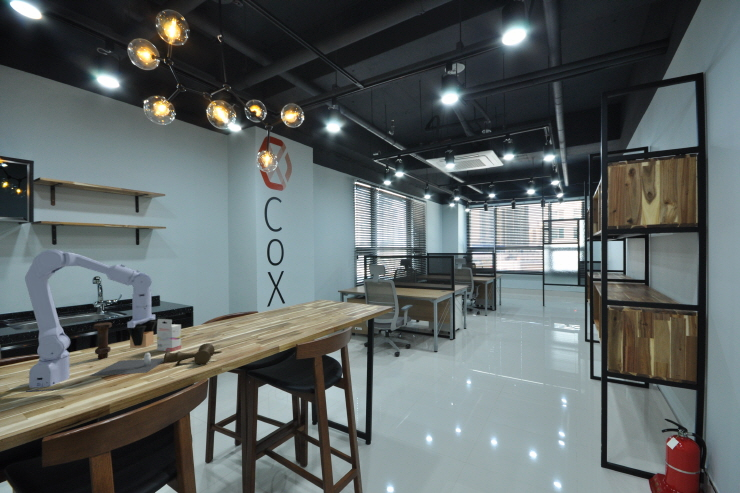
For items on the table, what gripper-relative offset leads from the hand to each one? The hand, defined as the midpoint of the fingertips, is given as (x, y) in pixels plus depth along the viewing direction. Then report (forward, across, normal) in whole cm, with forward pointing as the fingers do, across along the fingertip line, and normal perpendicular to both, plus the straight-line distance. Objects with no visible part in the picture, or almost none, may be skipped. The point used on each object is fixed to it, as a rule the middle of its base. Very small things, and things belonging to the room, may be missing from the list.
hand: (142, 343), depth 119 cm
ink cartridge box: (+10, +20, 0) cm, 23 cm away
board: (+10, 0, +3) cm, 10 cm away
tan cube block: (+1, 0, 0) cm, 1 cm away
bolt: (+10, +13, +21) cm, 26 cm away
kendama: (+10, +5, -16) cm, 19 cm away
